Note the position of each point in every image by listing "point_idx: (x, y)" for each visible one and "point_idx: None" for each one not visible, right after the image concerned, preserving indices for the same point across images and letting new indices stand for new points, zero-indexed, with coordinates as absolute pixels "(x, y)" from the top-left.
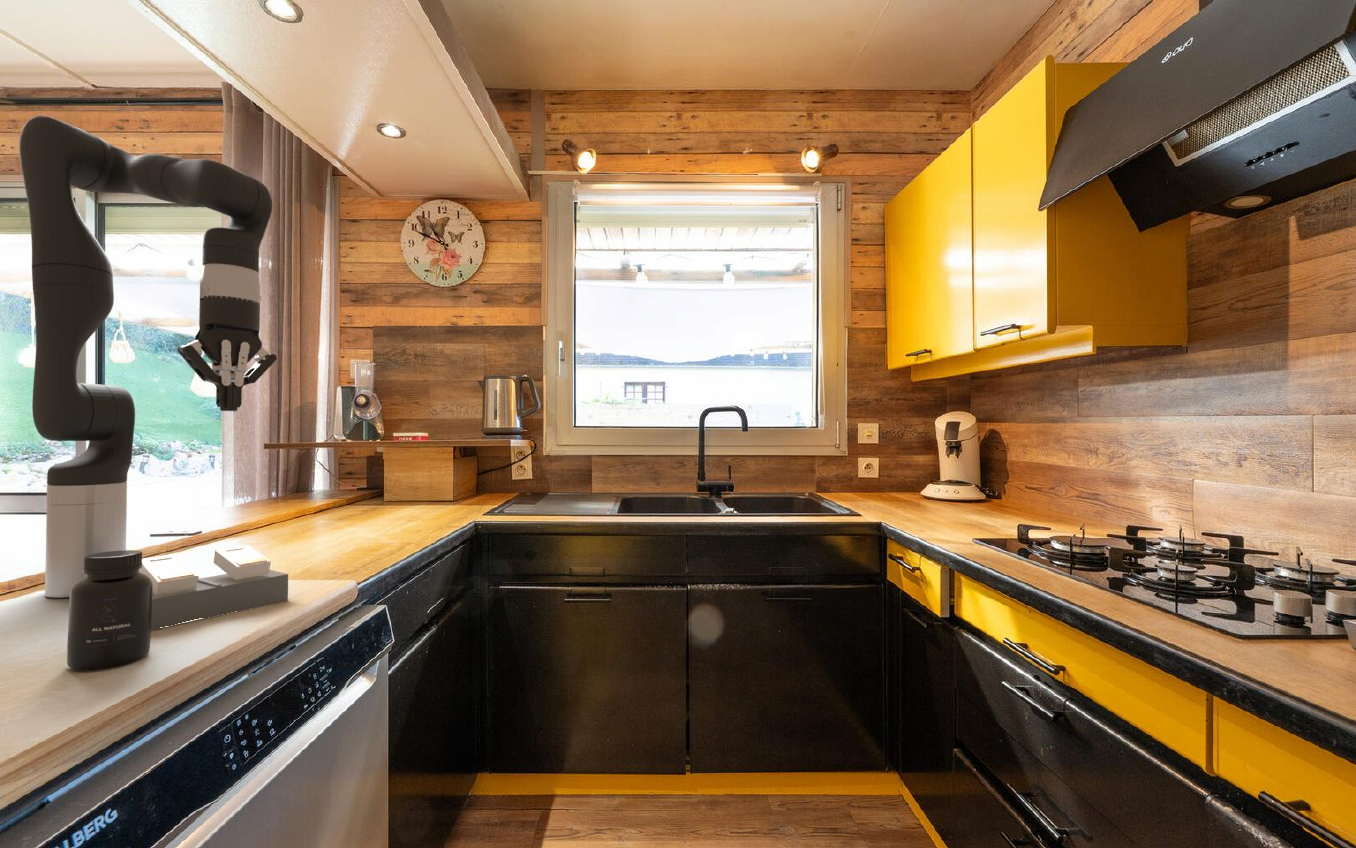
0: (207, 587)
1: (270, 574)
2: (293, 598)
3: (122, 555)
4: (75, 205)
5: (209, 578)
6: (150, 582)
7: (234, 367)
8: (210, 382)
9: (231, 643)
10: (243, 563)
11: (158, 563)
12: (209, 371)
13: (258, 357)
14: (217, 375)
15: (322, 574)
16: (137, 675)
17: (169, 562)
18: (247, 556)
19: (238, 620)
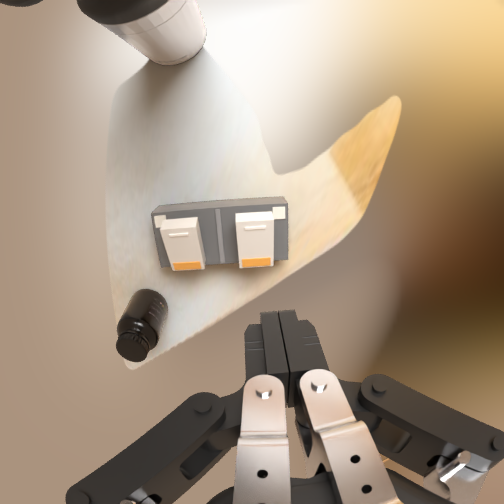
0: (215, 257)
1: (276, 247)
2: (291, 243)
3: (135, 360)
4: None
5: (229, 215)
6: (156, 344)
7: (310, 472)
8: (221, 397)
9: (208, 324)
10: (246, 266)
11: (175, 242)
12: (202, 458)
13: (428, 487)
14: (237, 442)
15: (362, 163)
16: (160, 336)
17: (185, 242)
18: (258, 248)
19: (230, 277)
